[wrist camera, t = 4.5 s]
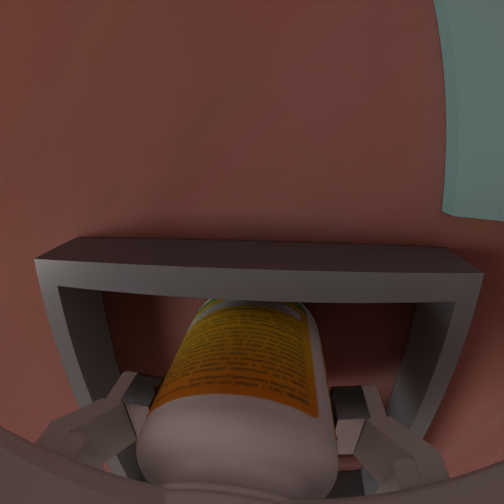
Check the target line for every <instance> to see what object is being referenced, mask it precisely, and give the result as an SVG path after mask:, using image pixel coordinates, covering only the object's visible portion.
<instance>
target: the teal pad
mask: <svg viewBox="0 0 504 504" xmlns="http://www.w3.org/2000/svg"><path fill="white" fill-rule="evenodd" d="M434 5H435V10H436V16H437V22H438V28H439V35H440V42H441V50H442V58H443V69H444V81H445V98H446V164H445V181H444V194H443V205H442V211H443V212H445V213H447V214H450V215H452V216H457V217H468V218H478V219H487V220H497V221H504V0H434Z"/></svg>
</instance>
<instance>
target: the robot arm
mask: <svg viewBox="0 0 504 504" xmlns="http://www.w3.org/2000/svg"><path fill="white" fill-rule="evenodd" d="M164 379H165V377H160V376H154V375H148V374H143V373H136V372H131V371H125V372H123V373H122V375H121V376H120V378H119V379H118V381H117V382H116V384H115V385H114V387H113V388H112V390H111V391H110V393H109V395H108V396H107V398H106V399H105V398H101V399H99V400H97V401H95V402H93V403H91V404H88V405H86V406H84V407H82V408H80V409H78V410H76V411H74V412H71V413H69V414H67V415H65V416H63V417H60V418H58V419H56V420H54V421H51V422H50V424H49V425H48V426H47V428H46V429H45V430H44V432H43V433H42V434H41V436H40V437H39V439H38V440H37V441H36V443H32V442H30V441H28V440H26V439H24V438H22V437H20V436H18V435H16V434H14V433H13V432H11V431H9V430H7V429H5V428H3V427H1V426H0V504H165V498H164V494H165V492H167V491H169V490H168V489H167V488H164V487H162V486H158V485H154V484H150V483H145V482H141V481H137V480H134V479H130V478H126V477H123V476H119V475H116V474H113V473H109V472H106V471H105V470H104V468H103V467H102V465H103V464H104V463H105V462H107V461H108V460H110V459H111V458H112V457H114V456H115V455H117V454H118V453H119V452H121V451H122V450H123V449H125V448H126V447H128V446H129V445H130V444H132V443H133V442H134V441H136V440H137V439H138V436H139V433H140V430H141V428H142V425H143V423H144V421H145V419H146V416H147V414H148V412H149V410H150V408H151V406H152V404H153V402H154V400H155V398H156V396H157V393H158V391H159V389H160V387H161V385H162V383H163V381H164ZM329 393H330V399H331V406H332V412H333V419H334V425H335V432H336V439H337V446H338V455H342V454H354V456H355V457H356V458H357V459H358V461H359V462H360V463H361V464H362V465H363V466H364V467H365V468H366V469H367V470H368V472H369V473H370V474H371V475H372V476H373V477H374V478H375V479H376V480H377V481H378V482H379V483H380V484H381V486H380V488H379V489H378V491H377V492H376V494H373V495H365V496H356V497H346V498H334V499H316V500H284V501H278V502H275V503H277V504H504V460H503V461H500V462H497V463H495V464H492V465H490V466H487V467H484V468H481V469H478V470H475V471H472V472H469V473H466V474H463V475H460V476H457V477H453V478H450V477H449V474H448V471H447V469H446V466H445V463H444V461H443V458H442V456H441V453H440V451H439V450H437V449H436V448H435V447H433V446H432V445H430V444H429V443H427V442H426V441H425V440H423V439H422V438H420V437H419V436H417V435H416V434H415V433H413V432H412V431H410V430H409V429H408V428H406V427H405V426H403V425H402V424H401V423H399V422H398V421H397V420H395V419H394V418H392V417H387V415H386V412H385V409H384V406H383V403H382V400H381V398H380V395H379V392H378V389H377V386H376V385H375V384H367V385H355V386H332V387H331V388H330V391H329ZM136 438H137V439H136Z"/></svg>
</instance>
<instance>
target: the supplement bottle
mask: <svg viewBox="0 0 504 504" xmlns="http://www.w3.org/2000/svg"><path fill="white" fill-rule="evenodd" d="M136 455H137V461H138V465H139V467H140V470H141V472H142V474H143V475H144V477H145V479H146V480H147V481H148V483H150V484H154V485H158V486H162V487H164V488H167V489H168V490H169V491H167V492H165V494H164V498H165V504H277V503H275V502H278V501H284V500H316V499H324V498H325V497H326V496H327V495H328V493H329V492H330V491H331V489H332V488H333V486H334V483H335V481H336V478H337V475H338V467H339V462H338V446H337V439H336V432H335V425H334V419H333V412H332V406H331V399H330V393H329V386H328V380H327V374H326V367H325V362H324V356H323V351H322V345H321V339H320V335H319V331H318V328H317V325H316V322H315V320H314V318H313V316H312V314H311V313H310V311H309V310H308V309H307V308H306V307H305V305H304V304H302V303H301V302H275V301H248V300H226V299H209V300H208V301H206V302H205V303H204V305H203V306H202V307H201V308H200V310H199V311H198V313H197V314H196V316H195V318H194V319H193V321H192V323H191V326H190V328H189V330H188V332H187V334H186V336H185V338H184V340H183V342H182V344H181V346H180V348H179V350H178V352H177V354H176V356H175V358H174V361H173V363H172V365H171V367H170V369H169V371H168V373H167V375H166V377H165V379H164V381H163V383H162V385H161V387H160V389H159V391H158V393H157V396H156V398H155V400H154V402H153V404H152V406H151V408H150V410H149V412H148V414H147V416H146V419H145V421H144V423H143V425H142V428H141V430H140V433H139V436H138V439H137V444H136Z"/></svg>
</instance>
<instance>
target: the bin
mask: <svg viewBox="0 0 504 504" xmlns="http://www.w3.org/2000/svg"><path fill="white" fill-rule="evenodd" d="M34 260H35V265H36V270H37V275H38V280H39V284H40V289H41V293H42V297H43V301H44V305H45V309H46V313H47V316H48V320H49V323H50V327H51V330H52V333H53V337H54V340H55V343H56V346H57V349H58V352H59V355H60V358H61V361H62V364H63V366H64V369H65V372H66V375H67V377H68V380H69V382H70V385H71V387H72V390H73V392H74V395H75V397H76V400H77V402H78V404H79V407H80V408H82V407H84V406H86V405H88V404H91V403H93V402H95V401H97V400H99V399H101V398H105V399H106V398H107V396H108V395H109V393H110V391H111V390H112V388H113V387H114V385H115V384H116V382H117V381H118V379H119V378H120V376H121V374H120V371H119V367H118V364H117V360H116V356H115V352H114V348H113V344H112V340H111V336H110V331H109V327H108V323H107V318H106V313H105V308H104V303H103V298H102V293H101V290H102V291H113V292H124V293H136V294H148V295H161V296H175V297H191V298H207V299H226V300H248V301H275V302H313V303H414V302H417V304H416V309H415V313H414V318H413V322H412V326H411V330H410V334H409V338H408V341H407V345H406V349H405V352H404V356H403V359H402V362H401V366H400V369H399V372H398V376H397V379H396V382H395V385H394V388H393V391H392V394H391V397H390V400H389V402H388V405H387V408H386V411H385V412H386V415H387V417H392V418H394V419H395V420H397V421H398V422H399V423H401V424H402V425H403V426H405V427H406V428H408V429H409V430H410V431H412V432H413V433H415V434H416V435H417V436H419V437H420V438H422V439H423V437H424V435H425V433H426V432H427V430H428V428H429V426H430V424H431V422H432V420H433V418H434V416H435V414H436V412H437V409H438V407H439V405H440V403H441V401H442V399H443V396H444V394H445V392H446V390H447V387H448V385H449V383H450V380H451V378H452V375H453V373H454V370H455V368H456V365H457V362H458V360H459V357H460V354H461V352H462V349H463V346H464V343H465V340H466V337H467V334H468V331H469V328H470V325H471V321H472V318H473V315H474V311H475V308H476V304H477V301H478V297H479V293H480V289H481V285H482V281H483V276H484V273H483V272H482V271H480V270H479V269H477V268H476V267H475V266H473V265H472V264H470V263H469V262H467V261H466V260H464V259H463V258H462V257H460V256H459V255H457V254H456V253H454V252H453V251H451V250H450V249H448V248H444V247H420V246H394V245H367V244H337V243H306V242H271V241H232V240H188V239H133V238H74V239H72V240H70V241H68V242H66V243H64V244H62V245H60V246H58V247H56V248H54V249H52V250H50V251H48V252H46V253H44V254H43V255H41V256H39V257H37V258H35V259H34ZM136 439H137V438H136ZM136 444H137V440H136V441H134V442H133V443H132V444H130V445H129V446H128V447H126V448H125V449H123V450H122V451H121V452H119V453H118V454H117V455H115V456H114V457H112V458H111V459H110V460H108V461H107V463H108V465H109V467H110V469H111V470H112V472H113V474H116V475H119V476H123V477H126V478H130V479H134V480H137V481H141V482H145V483H148V481H147V480H146V479H145V477H144V475H143V474H142V472H141V470H140V467H139V465H138V461H137V455H136ZM380 486H381V484H380V483H379V482H378V481H377V480H376V479H375V478H374V477H373V476H372V475H371V474H370V473H369V472H368V470H367V469H366V468H365V467H364V466H362V468H361V470H359V471H347V472H338V475H337V478H336V481H335V483H334V486H333V488H332V489H331V491H330V492H329V493H328V495H327V496H326V497H325V498H324V499H334V498H346V497H356V496H365V495H373V494H376V492H377V491H378V489H379V488H380Z"/></svg>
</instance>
